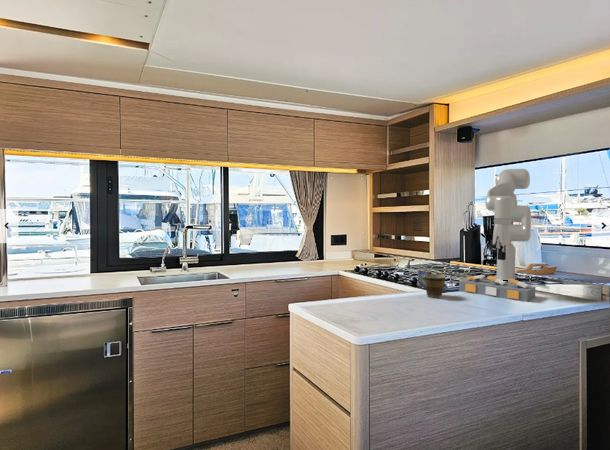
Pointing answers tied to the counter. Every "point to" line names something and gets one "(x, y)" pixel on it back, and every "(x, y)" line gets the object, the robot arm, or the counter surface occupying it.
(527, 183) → the robot arm
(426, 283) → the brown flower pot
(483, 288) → the switch box
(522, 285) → the switch
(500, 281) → the switch
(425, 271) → the flask
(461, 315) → the counter surface
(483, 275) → the switch
